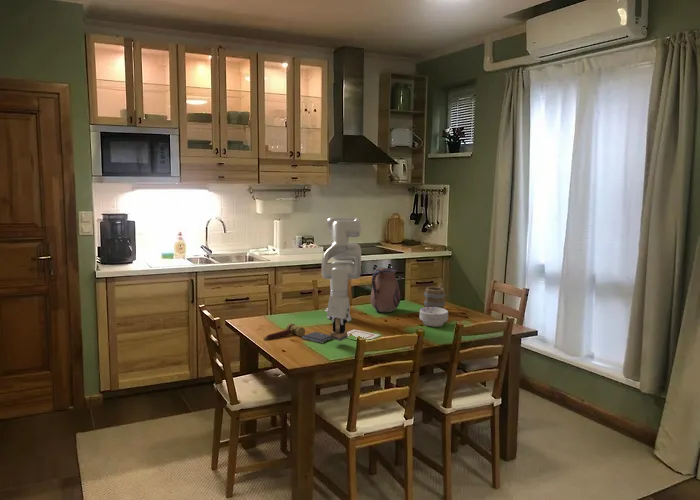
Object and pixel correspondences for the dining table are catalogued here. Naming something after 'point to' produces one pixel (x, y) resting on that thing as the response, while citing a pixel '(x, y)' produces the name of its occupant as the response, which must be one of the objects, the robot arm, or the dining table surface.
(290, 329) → the gavel
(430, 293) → the tankard
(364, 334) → the paper sheet
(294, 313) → the dining table surface
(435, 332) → the dining table surface
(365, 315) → the dining table surface
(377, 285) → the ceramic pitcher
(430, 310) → the paper bowls
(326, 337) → the ink pad
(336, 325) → the stamp
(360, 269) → the robot arm
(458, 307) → the dining table surface
